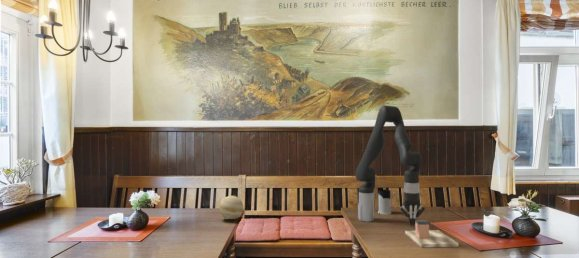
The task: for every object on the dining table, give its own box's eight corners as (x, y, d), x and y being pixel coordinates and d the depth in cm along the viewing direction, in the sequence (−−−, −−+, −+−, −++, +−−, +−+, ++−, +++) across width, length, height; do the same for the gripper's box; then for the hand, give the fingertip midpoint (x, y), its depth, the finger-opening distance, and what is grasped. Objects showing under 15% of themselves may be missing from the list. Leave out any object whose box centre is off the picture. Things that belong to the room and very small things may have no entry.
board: (421, 247, 170) (421, 244, 170) (405, 233, 192) (405, 230, 192) (458, 246, 170) (458, 243, 170) (438, 232, 192) (438, 230, 192)
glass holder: (376, 211, 241) (375, 189, 241) (396, 210, 243) (395, 188, 243) (380, 214, 233) (380, 191, 233) (401, 213, 234) (401, 191, 234)
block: (419, 238, 178) (419, 222, 178) (415, 235, 183) (415, 220, 183) (429, 238, 178) (429, 222, 178) (425, 235, 183) (425, 219, 183)
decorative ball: (214, 220, 225) (214, 196, 224) (232, 215, 236) (232, 192, 236) (229, 224, 215) (229, 199, 215) (248, 219, 226) (248, 195, 226)
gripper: (401, 192, 176) (401, 227, 177) (427, 192, 177) (428, 227, 177) (396, 190, 184) (396, 223, 184) (421, 189, 184) (422, 223, 184)
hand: (412, 225), depth 180 cm, fingers closed
